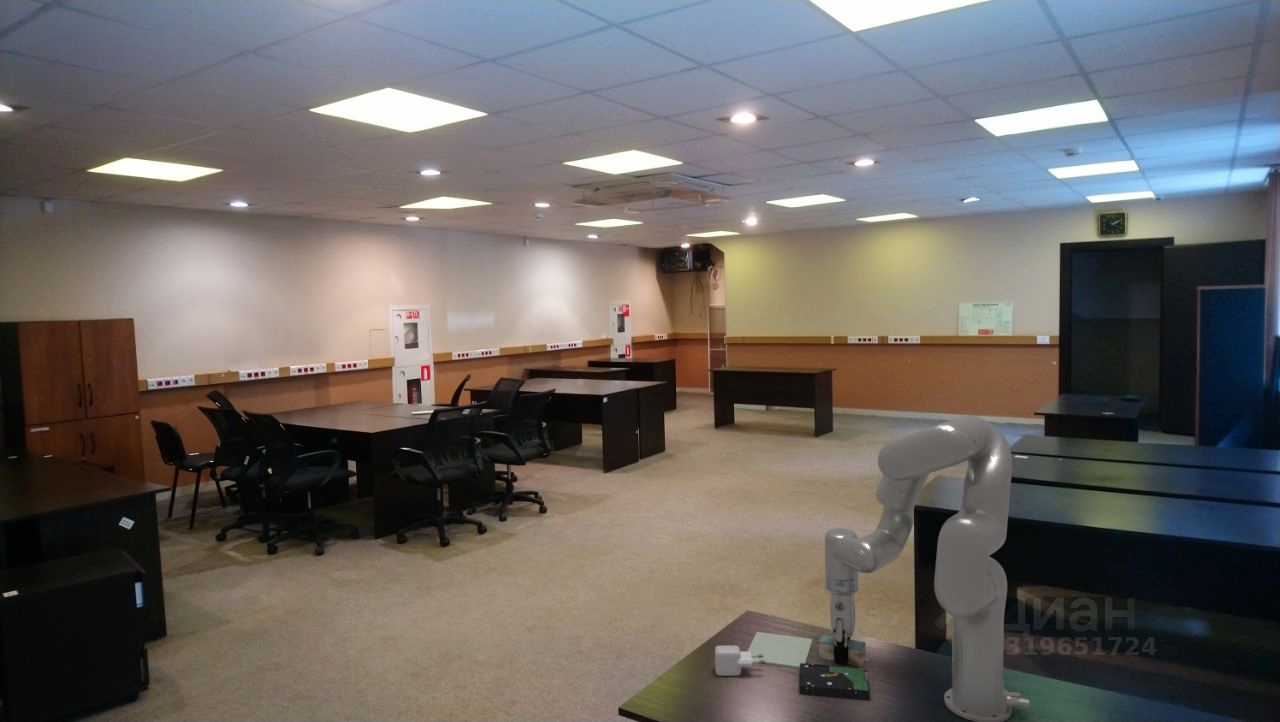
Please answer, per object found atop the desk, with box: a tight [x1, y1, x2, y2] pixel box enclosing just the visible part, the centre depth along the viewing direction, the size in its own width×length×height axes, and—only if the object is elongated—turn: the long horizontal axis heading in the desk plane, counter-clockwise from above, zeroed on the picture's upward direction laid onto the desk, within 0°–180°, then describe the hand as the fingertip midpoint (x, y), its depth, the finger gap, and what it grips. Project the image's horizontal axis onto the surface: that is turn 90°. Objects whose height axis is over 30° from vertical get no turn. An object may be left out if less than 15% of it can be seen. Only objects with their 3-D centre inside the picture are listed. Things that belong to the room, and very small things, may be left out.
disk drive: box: [798, 662, 871, 702], centre depth 160 cm, size 10×3×15 cm
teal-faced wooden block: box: [818, 634, 867, 667], centre depth 172 cm, size 10×4×4 cm, turn 62°
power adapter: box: [714, 645, 765, 677], centre depth 166 cm, size 11×5×6 cm, turn 87°
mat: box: [746, 631, 814, 670], centre depth 177 cm, size 14×15×1 cm
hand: (842, 656), depth 172 cm, fingers closed on teal-faced wooden block, 4 cm apart
